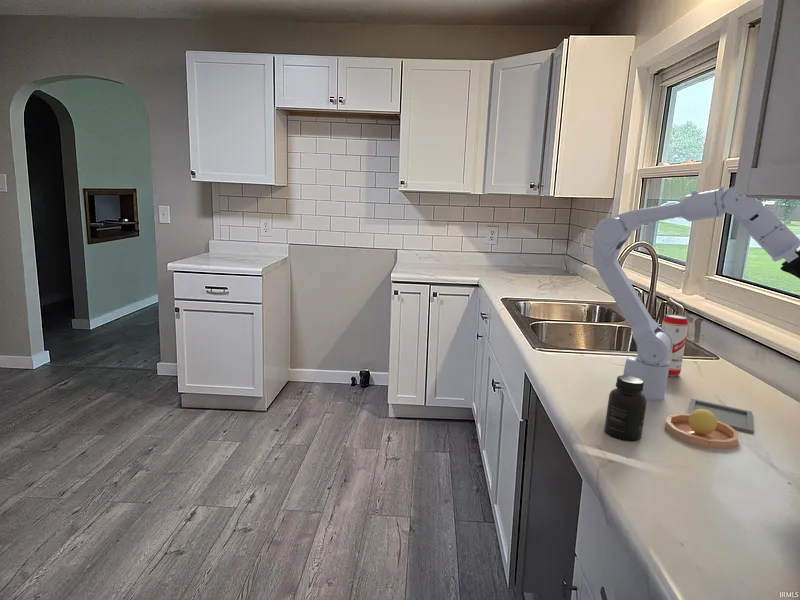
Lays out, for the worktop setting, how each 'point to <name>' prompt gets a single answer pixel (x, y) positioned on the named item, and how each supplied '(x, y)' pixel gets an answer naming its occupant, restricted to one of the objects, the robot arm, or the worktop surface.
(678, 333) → the beer can
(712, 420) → the ball
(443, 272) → the worktop surface
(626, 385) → the supplement bottle
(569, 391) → the worktop surface
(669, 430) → the bowl
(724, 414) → the tray
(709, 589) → the worktop surface
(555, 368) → the worktop surface
